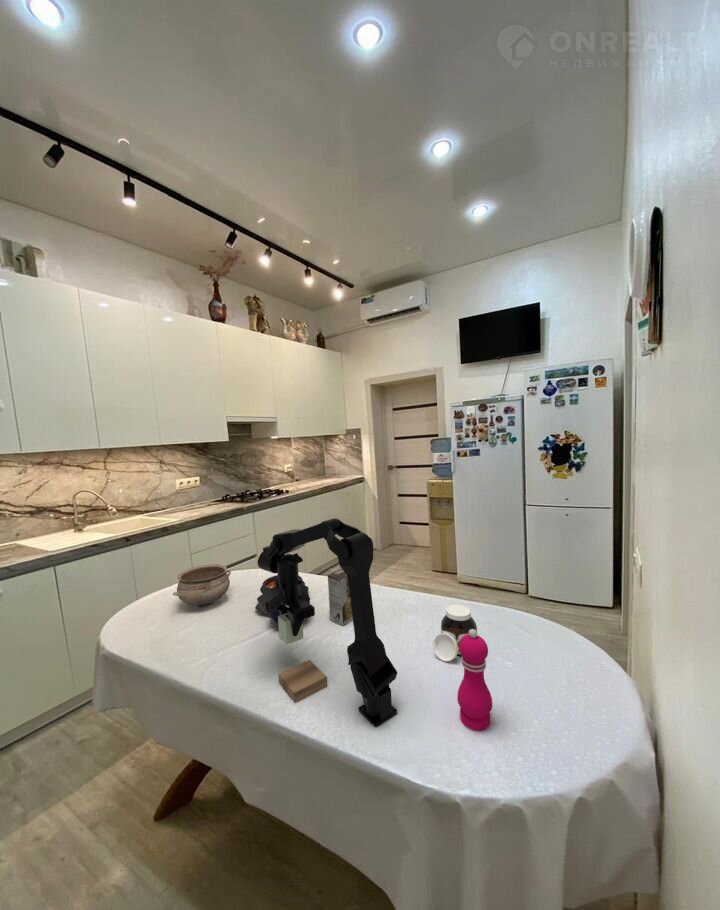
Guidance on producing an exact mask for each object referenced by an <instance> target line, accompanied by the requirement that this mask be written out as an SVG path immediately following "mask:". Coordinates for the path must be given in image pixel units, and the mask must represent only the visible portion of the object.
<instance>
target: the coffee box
mask: <svg viewBox="0 0 720 910" xmlns="http://www.w3.org/2000/svg"><path fill="white" fill-rule="evenodd" d="M327 584H328V585H327V588H328V589H327V590H328V601H329V602H328V607H329V621H330V622H331V621H332V623H334V624H336V623H337V625H339V626H342V627H344V626H346V625H347V624H349V623H351V622H353V617H352V609H351V600H350V592H349V584H348V577H347V575H346V573H345V572H344V571H343V569H342V568H340V569H337V570H336V571H334V572H332V573H330V574H328V575H327Z"/></svg>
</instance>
